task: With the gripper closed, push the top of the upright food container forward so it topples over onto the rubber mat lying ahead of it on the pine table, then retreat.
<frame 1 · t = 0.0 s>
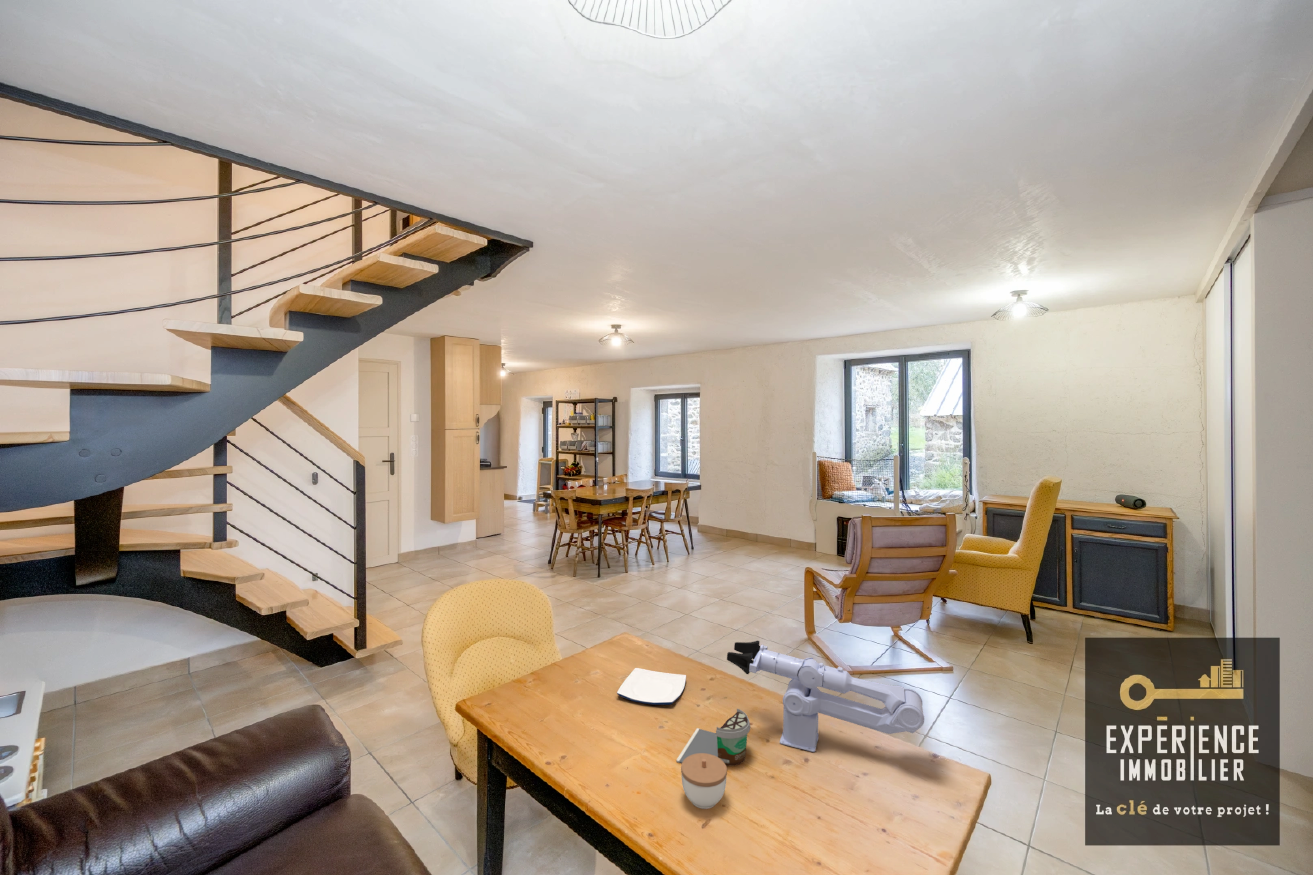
hand: (731, 650, 153), 22 cm above the table, tool horizontal, fingers open, 7 cm apart
lidded jar: (703, 800, 122), on the table
food container: (737, 759, 137), on the table
plate: (652, 692, 172), on the table
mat: (704, 749, 141), on the table
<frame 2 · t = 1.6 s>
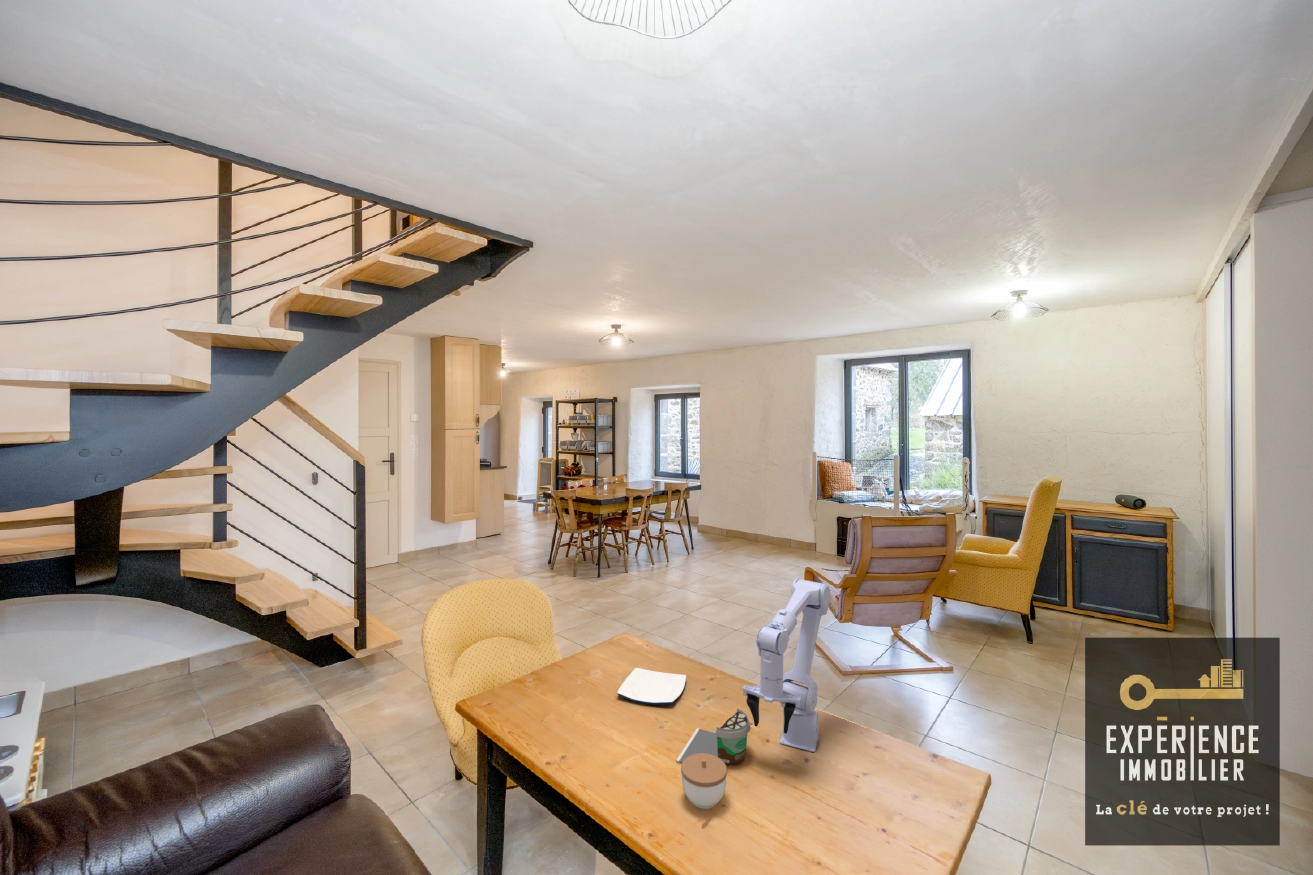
hand: (771, 727, 133), 10 cm above the table, tool pointing down, fingers open, 7 cm apart
nothing on the table moved.
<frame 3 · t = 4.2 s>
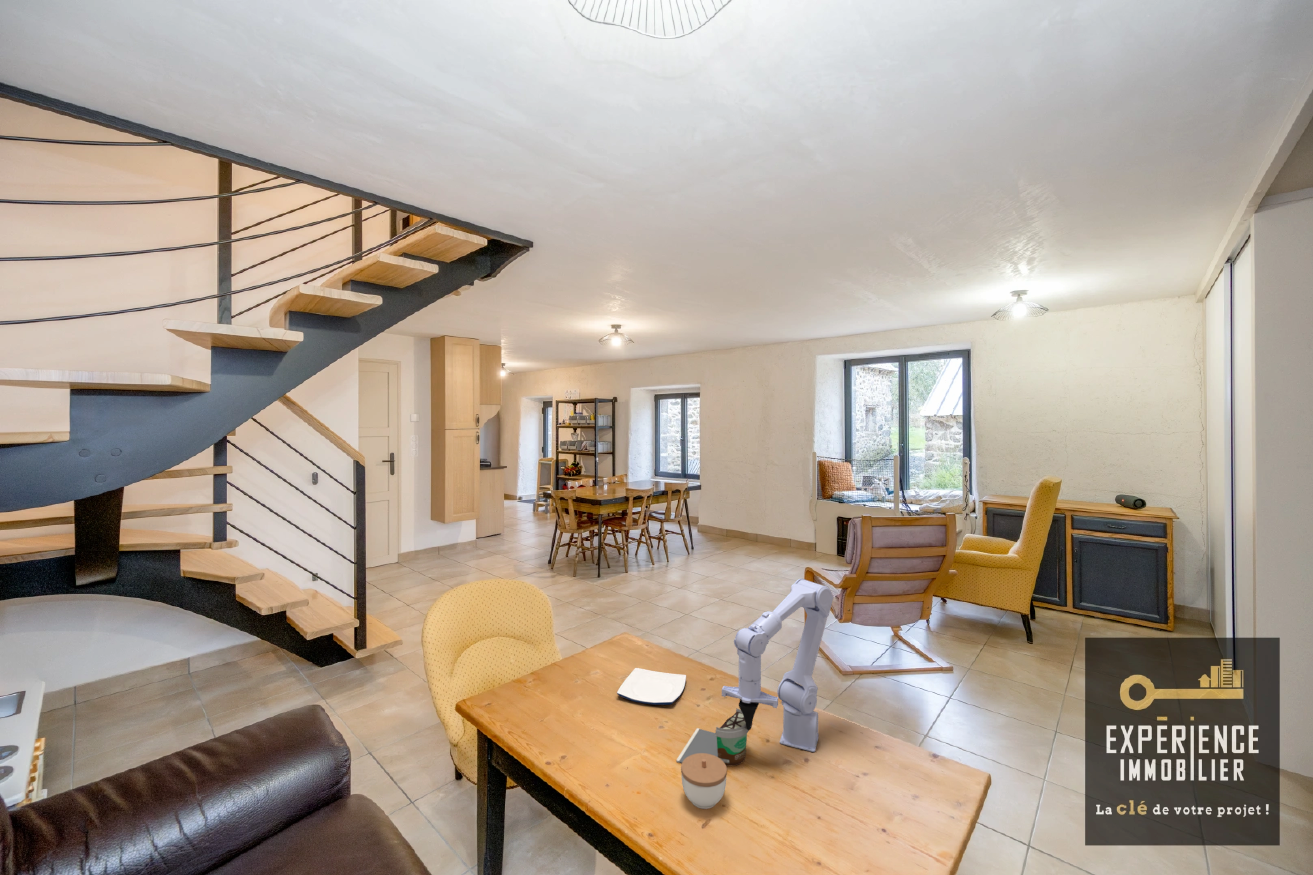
hand: (749, 727, 135), 9 cm above the table, tool pointing down, fingers closed
food container: (737, 759, 137), on the table, touching gripper
everything else where it was.
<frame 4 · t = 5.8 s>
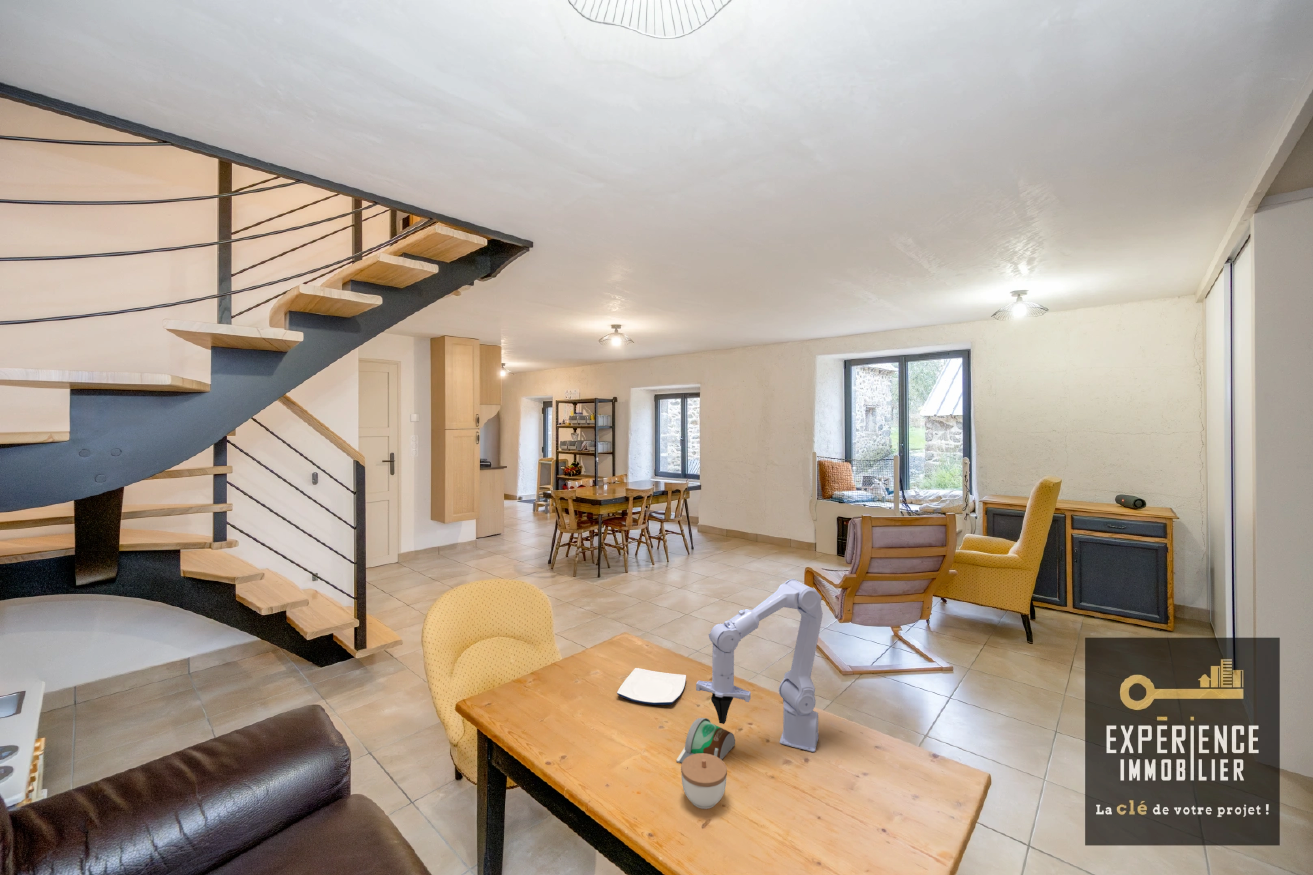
hand: (722, 721, 138), 9 cm above the table, tool pointing down, fingers closed
food container: (728, 741, 138), point 3 cm above the table, touching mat
everything else where it was.
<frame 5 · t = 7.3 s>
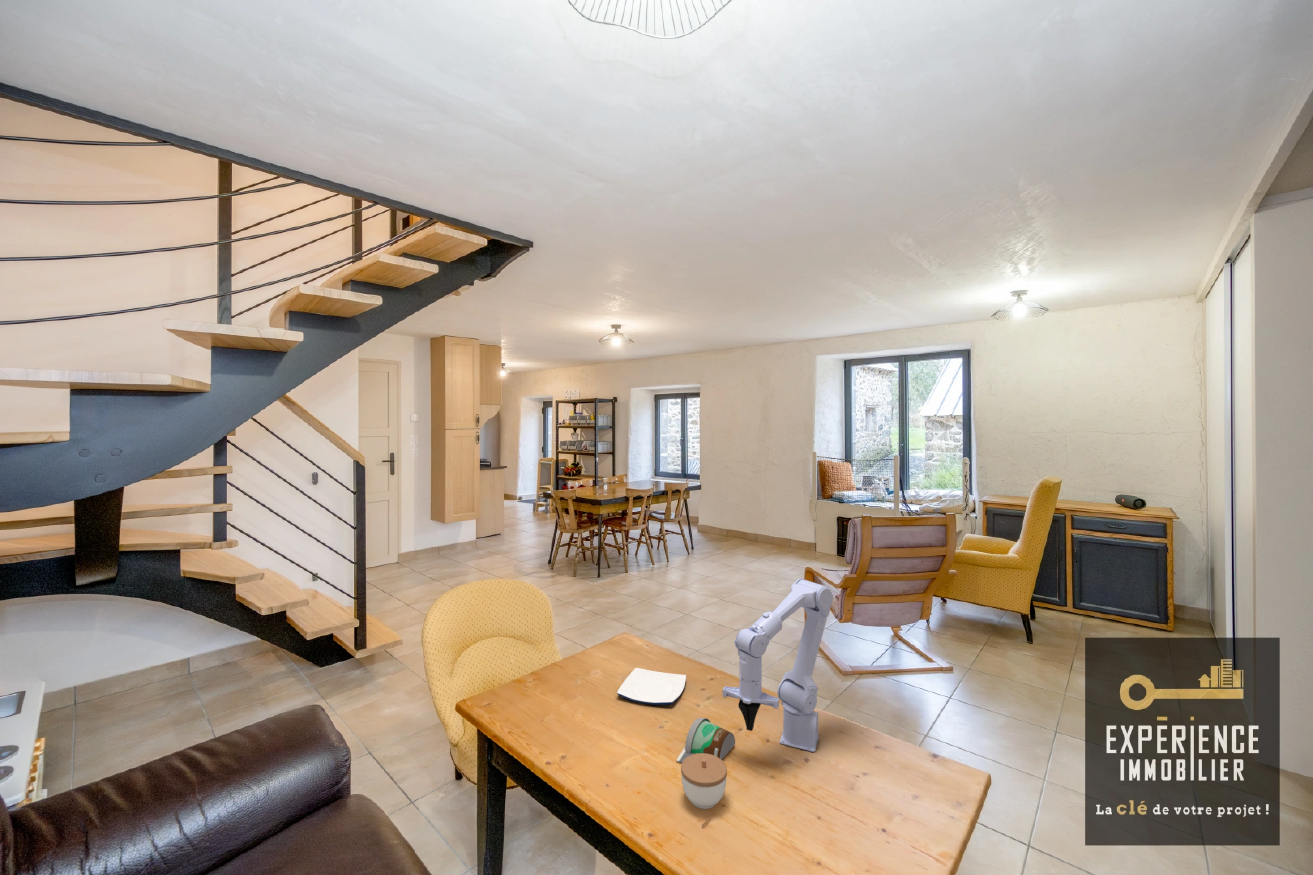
hand: (750, 728, 135), 9 cm above the table, tool pointing down, fingers closed
nothing on the table moved.
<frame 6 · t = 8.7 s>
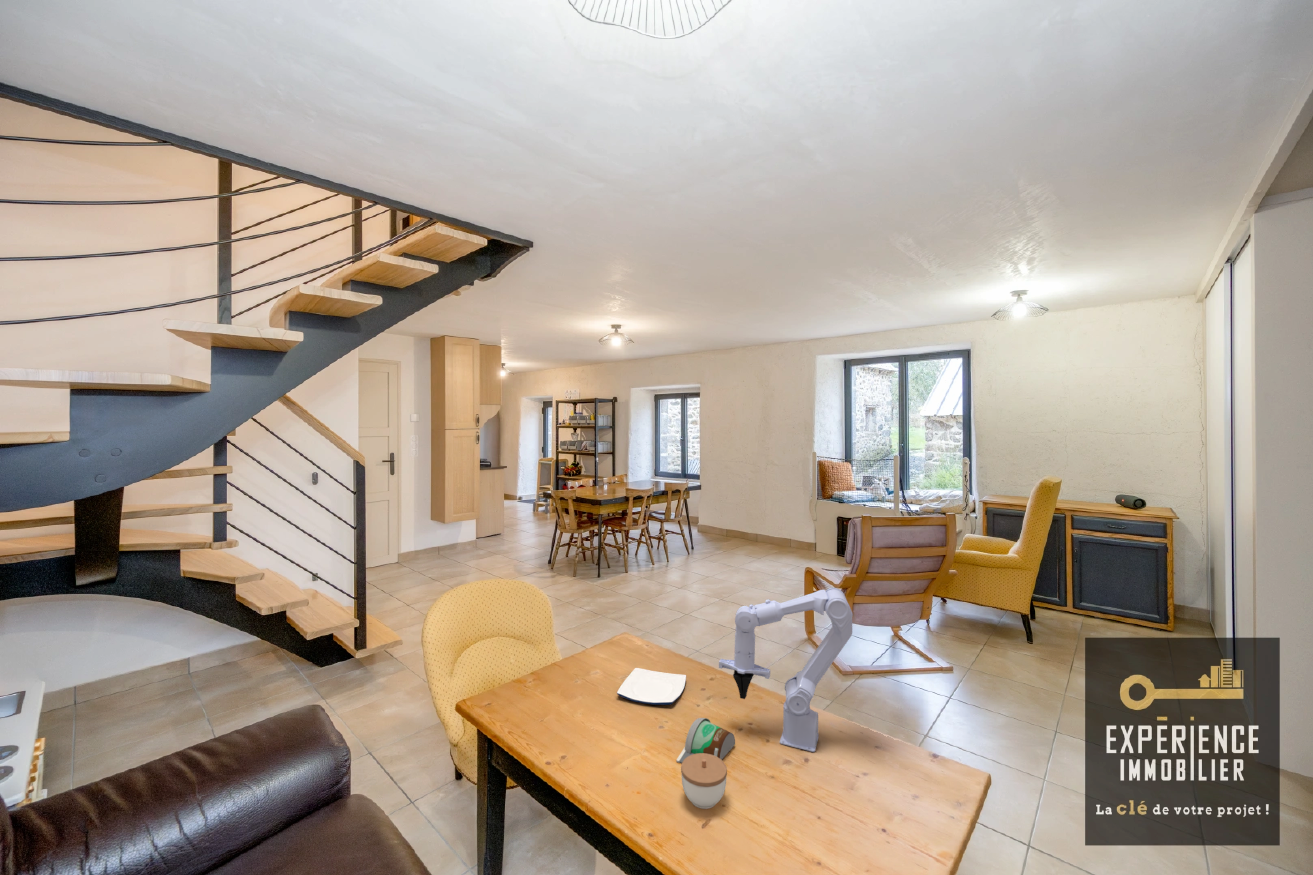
hand: (743, 697, 148), 10 cm above the table, tool pointing down, fingers closed
nothing on the table moved.
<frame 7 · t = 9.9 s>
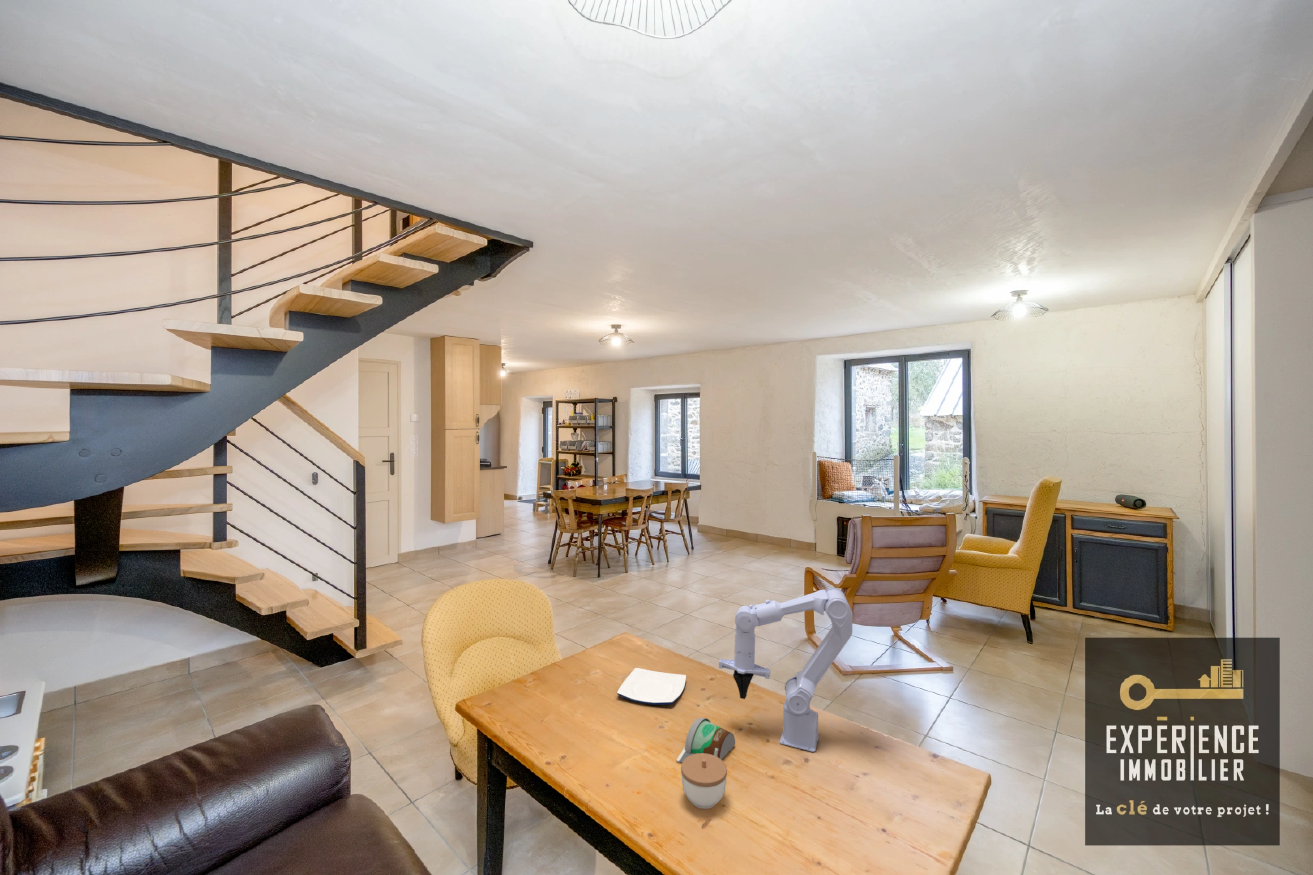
hand: (743, 697, 148), 10 cm above the table, tool pointing down, fingers closed
nothing on the table moved.
at the end: food container tilted 89°; food container inside the target area (4.1 cm from its centre), point 3.4 cm above the table; food container moved 4.3 cm from its start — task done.
